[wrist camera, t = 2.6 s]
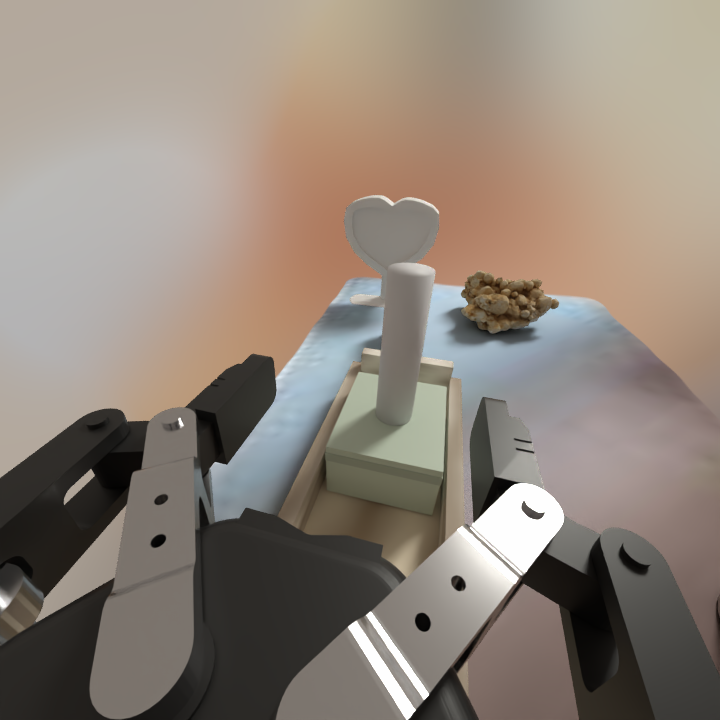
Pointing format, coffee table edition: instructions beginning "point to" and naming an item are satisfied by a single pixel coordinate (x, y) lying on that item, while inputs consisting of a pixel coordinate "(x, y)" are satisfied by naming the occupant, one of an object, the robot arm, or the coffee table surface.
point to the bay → (376, 520)
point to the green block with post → (393, 409)
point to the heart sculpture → (389, 235)
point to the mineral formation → (504, 302)
